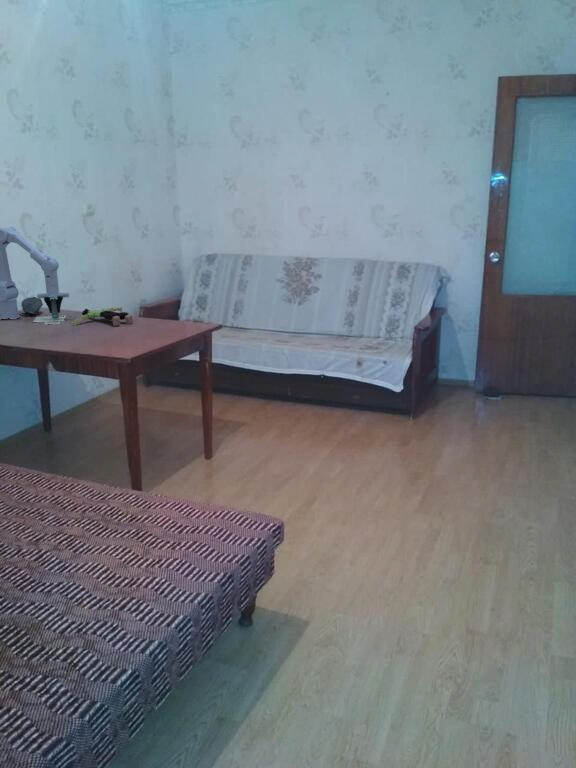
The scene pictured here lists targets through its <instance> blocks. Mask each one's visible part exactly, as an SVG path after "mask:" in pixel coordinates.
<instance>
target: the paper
mask: <svg viewBox="0 0 576 768" xmlns="http://www.w3.org/2000/svg"><path fill="white" fill-rule="evenodd" d="M61 316H62V317H59V318H57V319H52V315H50V316H49V315H48V316H36V317H35V319H34V320H33V322H37V323H45V322H53V321H60V322H65V320H64V319H66V317H67V315H61ZM63 316H64V317H63Z"/></svg>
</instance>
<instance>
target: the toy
mask: <svg viewBox="0 0 576 768" xmlns="http://www.w3.org/2000/svg"><path fill="white" fill-rule="evenodd" d="M117 311H118V312H117ZM81 315H82V316H80V317H78V318H77V319H75V320H74V321H72V322H70V323H71V324H72V326H73V327H75V326H76V327H77V325H78V324H79V323H80V322H83V321H86V320H88V319H91V320H95V318H103V319H105V320H107V321H112V324H113V326H120V325H121V321H122V320H125V323H126V324H127V325H130V324H132V323H133V322H134V321H133V315H132V314H129V312H125V311H123V307H122V306H120V307H119V306H115V307H111V308H103V309H101V310H99V309H95V310H94V309H91V310H89V309H88V308H84V310H82V312H81Z"/></svg>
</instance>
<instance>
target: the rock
mask: <svg viewBox="0 0 576 768" xmlns="http://www.w3.org/2000/svg"><path fill="white" fill-rule="evenodd" d="M20 304H21V305H20V306H21V307H22V311H23V312H24V313H27V314H28V315H30V314H33V315H38V313H39V312H40V310H41V308H42V307H43V305H44V303H43V301H42V298H40V299H37V296H32V297H26V298H24V299H23V300H21V303H20Z"/></svg>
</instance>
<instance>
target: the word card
mask: <svg viewBox="0 0 576 768" xmlns="http://www.w3.org/2000/svg"><path fill="white" fill-rule="evenodd" d="M43 323H44V324H43V325H44V326H45V325H46V326H48V324H52V325H60V324H61V321H59V322H43Z"/></svg>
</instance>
